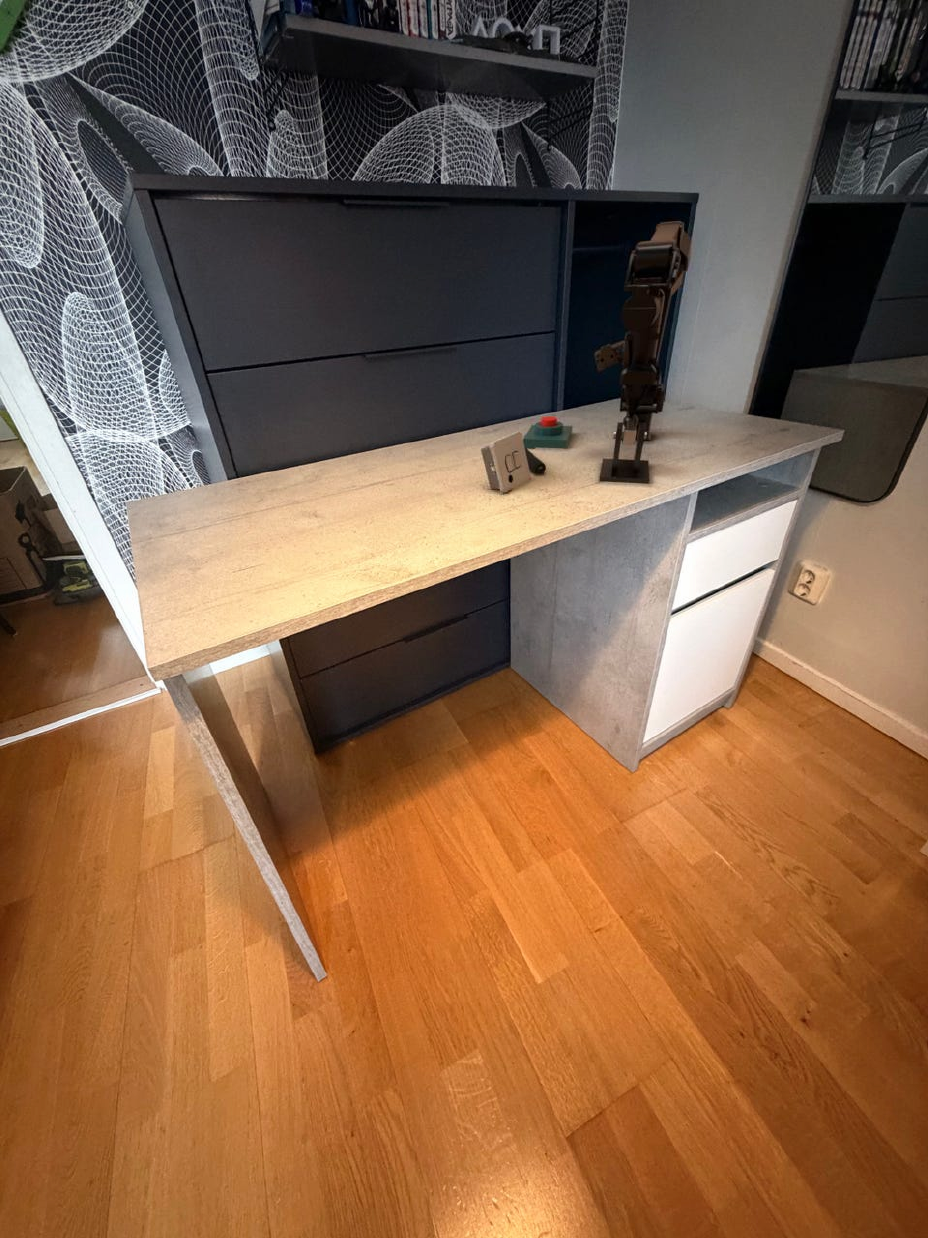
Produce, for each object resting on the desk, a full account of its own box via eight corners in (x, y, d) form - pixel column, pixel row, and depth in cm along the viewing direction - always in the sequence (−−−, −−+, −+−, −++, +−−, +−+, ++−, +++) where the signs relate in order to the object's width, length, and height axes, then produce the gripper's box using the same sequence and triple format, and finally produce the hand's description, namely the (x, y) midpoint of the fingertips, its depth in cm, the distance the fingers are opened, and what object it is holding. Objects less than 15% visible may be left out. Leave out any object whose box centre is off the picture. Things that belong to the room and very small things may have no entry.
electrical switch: (504, 494, 92) (500, 443, 87) (482, 492, 95) (477, 442, 90) (531, 479, 97) (528, 431, 92) (510, 477, 100) (506, 430, 95)
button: (542, 423, 117) (542, 416, 116) (557, 424, 116) (557, 416, 115) (539, 427, 114) (540, 420, 113) (555, 428, 113) (555, 420, 112)
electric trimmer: (532, 479, 98) (533, 463, 96) (505, 455, 110) (506, 441, 108) (549, 476, 99) (550, 461, 97) (521, 453, 111) (522, 439, 109)
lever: (622, 427, 104) (624, 412, 102) (636, 427, 103) (639, 412, 101) (620, 445, 93) (622, 428, 91) (636, 445, 92) (639, 429, 90)
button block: (531, 433, 123) (532, 417, 121) (571, 435, 120) (573, 418, 118) (522, 448, 114) (523, 430, 111) (566, 450, 111) (567, 431, 109)
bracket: (602, 464, 102) (607, 417, 97) (647, 466, 100) (655, 418, 95) (599, 482, 94) (604, 433, 89) (648, 485, 92) (657, 434, 86)
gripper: (602, 321, 100) (594, 402, 110) (596, 333, 86) (587, 425, 95) (660, 319, 98) (647, 403, 107) (663, 331, 83) (647, 426, 92)
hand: (631, 413), depth 100 cm, fingers closed, pressing on lever
